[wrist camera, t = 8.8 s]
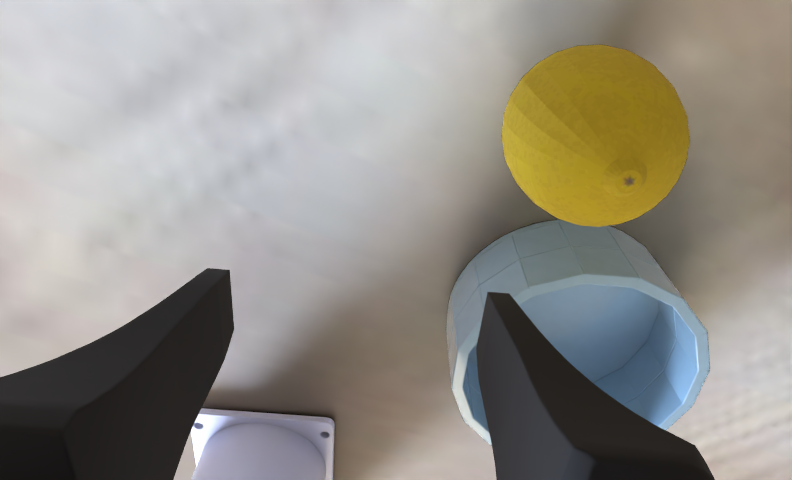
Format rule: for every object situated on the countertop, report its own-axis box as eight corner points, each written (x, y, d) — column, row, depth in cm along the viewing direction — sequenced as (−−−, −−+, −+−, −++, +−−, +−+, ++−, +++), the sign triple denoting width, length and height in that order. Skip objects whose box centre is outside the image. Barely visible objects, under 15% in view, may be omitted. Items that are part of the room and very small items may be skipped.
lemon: (660, 62, 21) (786, 129, 14) (582, 185, 23) (654, 294, 16) (531, 2, 20) (596, 41, 13) (465, 137, 22) (489, 231, 15)
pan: (629, 398, 29) (662, 470, 25) (435, 384, 29) (439, 454, 25) (696, 228, 24) (750, 286, 20) (462, 210, 24) (472, 264, 20)
